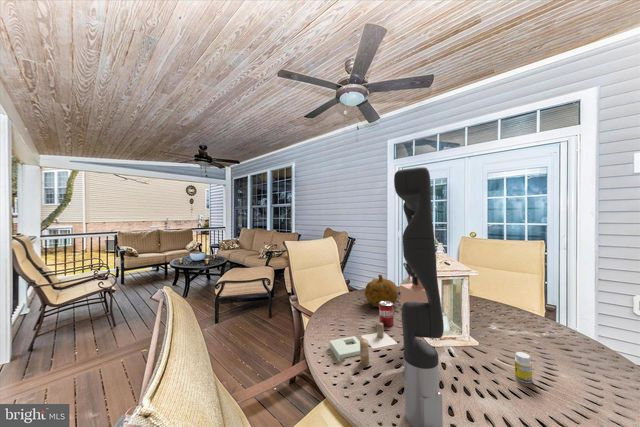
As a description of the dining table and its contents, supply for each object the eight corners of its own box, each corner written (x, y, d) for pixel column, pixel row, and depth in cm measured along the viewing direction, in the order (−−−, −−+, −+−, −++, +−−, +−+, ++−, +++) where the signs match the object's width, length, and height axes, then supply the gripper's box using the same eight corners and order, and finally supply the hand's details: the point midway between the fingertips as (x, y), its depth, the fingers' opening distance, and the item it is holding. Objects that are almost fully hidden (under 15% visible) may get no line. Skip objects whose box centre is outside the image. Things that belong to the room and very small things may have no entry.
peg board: (367, 356, 107) (366, 349, 107) (339, 362, 103) (339, 354, 103) (354, 342, 118) (354, 336, 118) (329, 347, 115) (329, 340, 115)
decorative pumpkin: (403, 300, 167) (400, 270, 165) (393, 315, 149) (390, 281, 148) (373, 297, 177) (370, 268, 176) (361, 310, 160) (357, 278, 159)
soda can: (394, 330, 129) (393, 306, 129) (379, 329, 130) (378, 305, 130) (393, 323, 136) (392, 301, 136) (379, 323, 137) (378, 300, 137)
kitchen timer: (399, 295, 180) (398, 274, 179) (399, 289, 193) (399, 269, 192) (420, 297, 175) (420, 275, 175) (419, 290, 188) (419, 270, 188)
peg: (370, 368, 99) (369, 342, 99) (363, 370, 98) (362, 343, 98) (366, 363, 102) (365, 338, 102) (359, 365, 101) (358, 339, 101)
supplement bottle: (515, 372, 93) (514, 349, 93) (532, 378, 90) (531, 353, 90) (514, 379, 89) (514, 355, 89) (532, 385, 86) (531, 360, 86)
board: (398, 346, 113) (397, 329, 113) (373, 352, 110) (372, 334, 110) (383, 334, 125) (383, 319, 125) (360, 339, 121) (360, 323, 121)
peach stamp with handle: (438, 308, 110) (437, 274, 110) (416, 312, 107) (415, 277, 107) (421, 300, 121) (420, 269, 121) (400, 303, 118) (399, 271, 118)
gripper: (408, 247, 108) (410, 288, 108) (436, 244, 112) (437, 284, 112) (398, 245, 115) (399, 284, 115) (424, 243, 119) (425, 280, 120)
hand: (418, 284), depth 114 cm, fingers closed on peach stamp with handle, 2 cm apart
